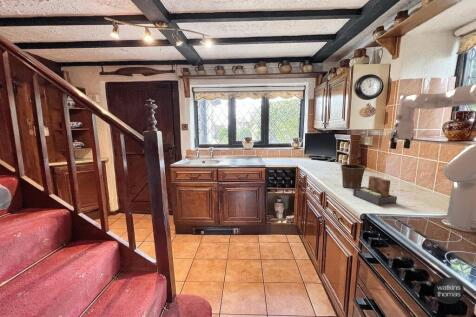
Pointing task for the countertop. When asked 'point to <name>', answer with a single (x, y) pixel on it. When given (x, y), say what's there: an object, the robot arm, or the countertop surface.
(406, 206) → the countertop surface
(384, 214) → the countertop surface
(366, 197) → the rack
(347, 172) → the plant pot
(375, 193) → the offcut
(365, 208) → the countertop surface
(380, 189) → the walnut board
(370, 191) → the offcut
